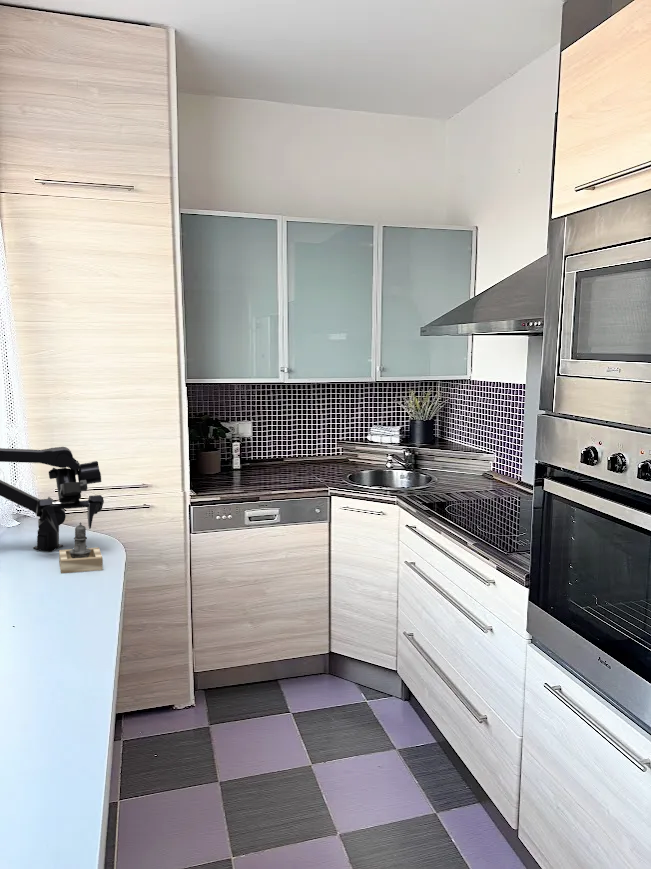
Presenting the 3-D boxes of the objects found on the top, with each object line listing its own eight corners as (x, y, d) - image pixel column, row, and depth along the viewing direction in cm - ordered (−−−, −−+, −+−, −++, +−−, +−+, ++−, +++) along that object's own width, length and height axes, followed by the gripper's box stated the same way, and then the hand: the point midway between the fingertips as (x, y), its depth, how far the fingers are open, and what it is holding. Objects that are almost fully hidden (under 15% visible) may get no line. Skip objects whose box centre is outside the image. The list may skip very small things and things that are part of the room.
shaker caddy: (59, 561, 193) (59, 549, 193) (98, 558, 198) (98, 547, 197) (60, 573, 183) (61, 561, 183) (102, 570, 188) (102, 558, 187)
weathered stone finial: (83, 567, 187) (84, 525, 186) (64, 564, 188) (65, 523, 187) (94, 561, 193) (95, 521, 192) (76, 558, 194) (77, 519, 193)
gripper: (36, 472, 193) (42, 518, 185) (102, 469, 203) (110, 512, 195) (33, 493, 201) (39, 538, 193) (96, 489, 211) (104, 531, 202)
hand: (74, 529), depth 196 cm, fingers open, 9 cm apart
